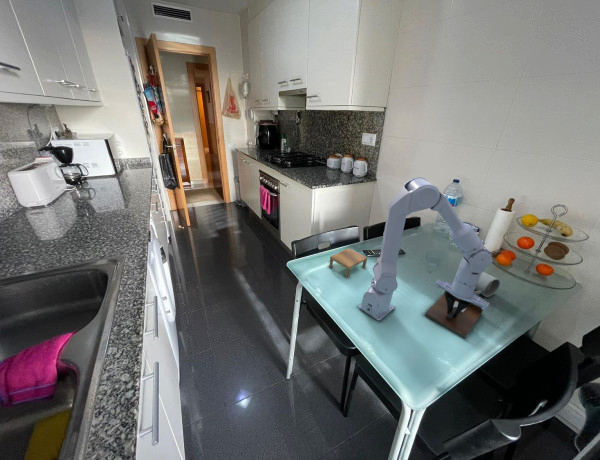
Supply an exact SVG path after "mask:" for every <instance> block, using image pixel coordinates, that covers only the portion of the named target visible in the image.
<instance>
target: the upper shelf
mask: <svg viewBox="0 0 600 460" xmlns="http://www.w3.org/2000/svg"><path fill="white" fill-rule="evenodd" d="M367 261H368V257H367V256H365V255H363V254H361V253H359V252H357V251H356V250H353V249H351V248H349V247H348V248H346V249H343V250H342V251H339V252H338V253H335V254H333V255H330V257H329V264H328V267H329V268H333V265H334V262H335V263H337V264H338V265H341V266H342V267H343V268H345V269H346V273H345V278H346V279H347V278H348V279H349V278H350V274H351V269H352V268H355V267H356V266H358V265H360V264H362V266H361V267H362V269H366V266H367Z"/></svg>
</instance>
